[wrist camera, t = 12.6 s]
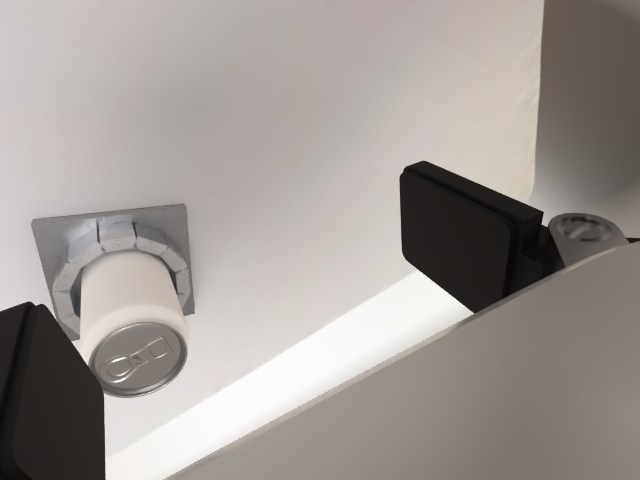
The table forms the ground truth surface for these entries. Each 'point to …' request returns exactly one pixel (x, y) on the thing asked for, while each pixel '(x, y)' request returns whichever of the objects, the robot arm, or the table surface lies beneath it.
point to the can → (131, 323)
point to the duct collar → (105, 236)
